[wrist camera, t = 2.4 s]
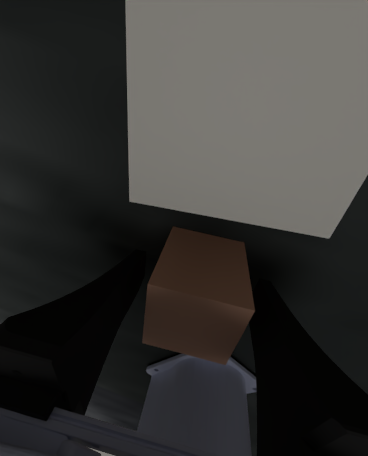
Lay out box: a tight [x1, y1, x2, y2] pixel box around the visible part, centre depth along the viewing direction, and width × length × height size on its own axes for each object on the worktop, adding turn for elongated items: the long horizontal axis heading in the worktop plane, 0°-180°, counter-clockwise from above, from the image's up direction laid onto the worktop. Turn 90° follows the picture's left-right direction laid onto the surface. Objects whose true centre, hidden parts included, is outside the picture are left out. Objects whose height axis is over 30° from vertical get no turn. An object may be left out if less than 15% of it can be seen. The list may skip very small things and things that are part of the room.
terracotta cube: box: [142, 226, 255, 365], centre depth 12 cm, size 4×4×5 cm
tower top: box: [126, 0, 368, 238], centre depth 5 cm, size 6×6×3 cm
